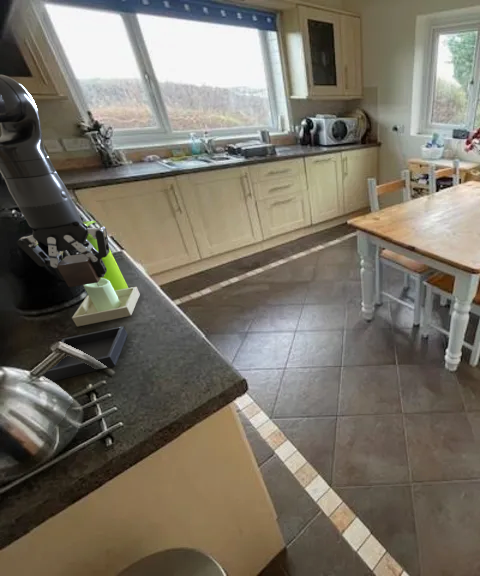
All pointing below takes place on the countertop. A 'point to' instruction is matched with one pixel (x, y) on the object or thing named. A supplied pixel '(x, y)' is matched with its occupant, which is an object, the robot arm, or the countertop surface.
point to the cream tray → (91, 315)
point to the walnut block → (78, 270)
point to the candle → (102, 295)
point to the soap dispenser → (109, 265)
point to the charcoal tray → (90, 352)
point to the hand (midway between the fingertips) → (86, 277)
